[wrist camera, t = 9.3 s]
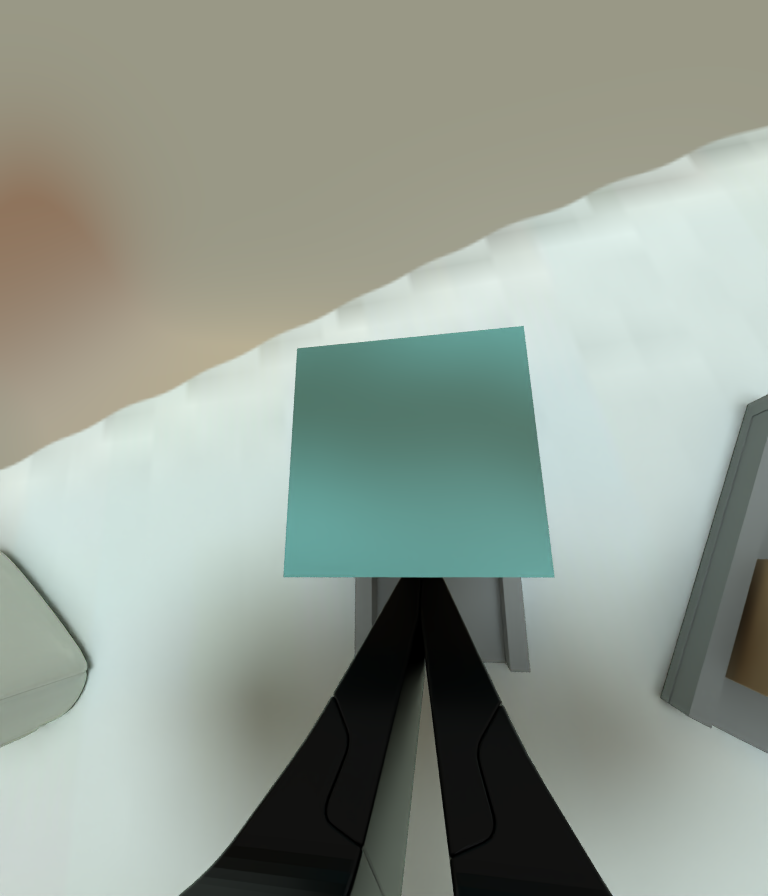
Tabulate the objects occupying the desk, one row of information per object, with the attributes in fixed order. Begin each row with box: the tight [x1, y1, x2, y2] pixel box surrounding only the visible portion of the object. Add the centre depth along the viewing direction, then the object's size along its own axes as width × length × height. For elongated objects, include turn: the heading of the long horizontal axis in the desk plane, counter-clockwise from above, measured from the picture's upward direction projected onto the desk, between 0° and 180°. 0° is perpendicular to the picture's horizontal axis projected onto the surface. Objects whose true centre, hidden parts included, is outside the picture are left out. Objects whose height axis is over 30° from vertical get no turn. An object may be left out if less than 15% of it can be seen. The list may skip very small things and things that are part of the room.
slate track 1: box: [355, 577, 530, 672], centre depth 17 cm, size 13×7×2 cm, turn 0°
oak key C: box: [284, 326, 554, 577], centre depth 12 cm, size 4×4×11 cm
